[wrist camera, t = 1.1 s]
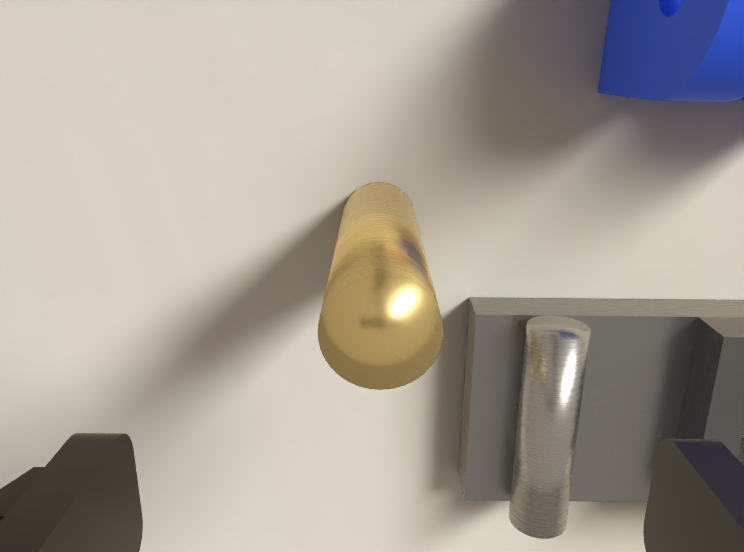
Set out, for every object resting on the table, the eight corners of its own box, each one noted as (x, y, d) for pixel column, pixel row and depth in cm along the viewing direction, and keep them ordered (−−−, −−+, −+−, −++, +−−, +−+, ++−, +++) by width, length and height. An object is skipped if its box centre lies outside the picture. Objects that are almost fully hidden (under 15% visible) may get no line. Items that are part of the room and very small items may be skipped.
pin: (342, 182, 26) (316, 273, 15) (415, 182, 26) (445, 275, 15) (342, 252, 27) (318, 389, 16) (413, 252, 27) (440, 390, 16)
